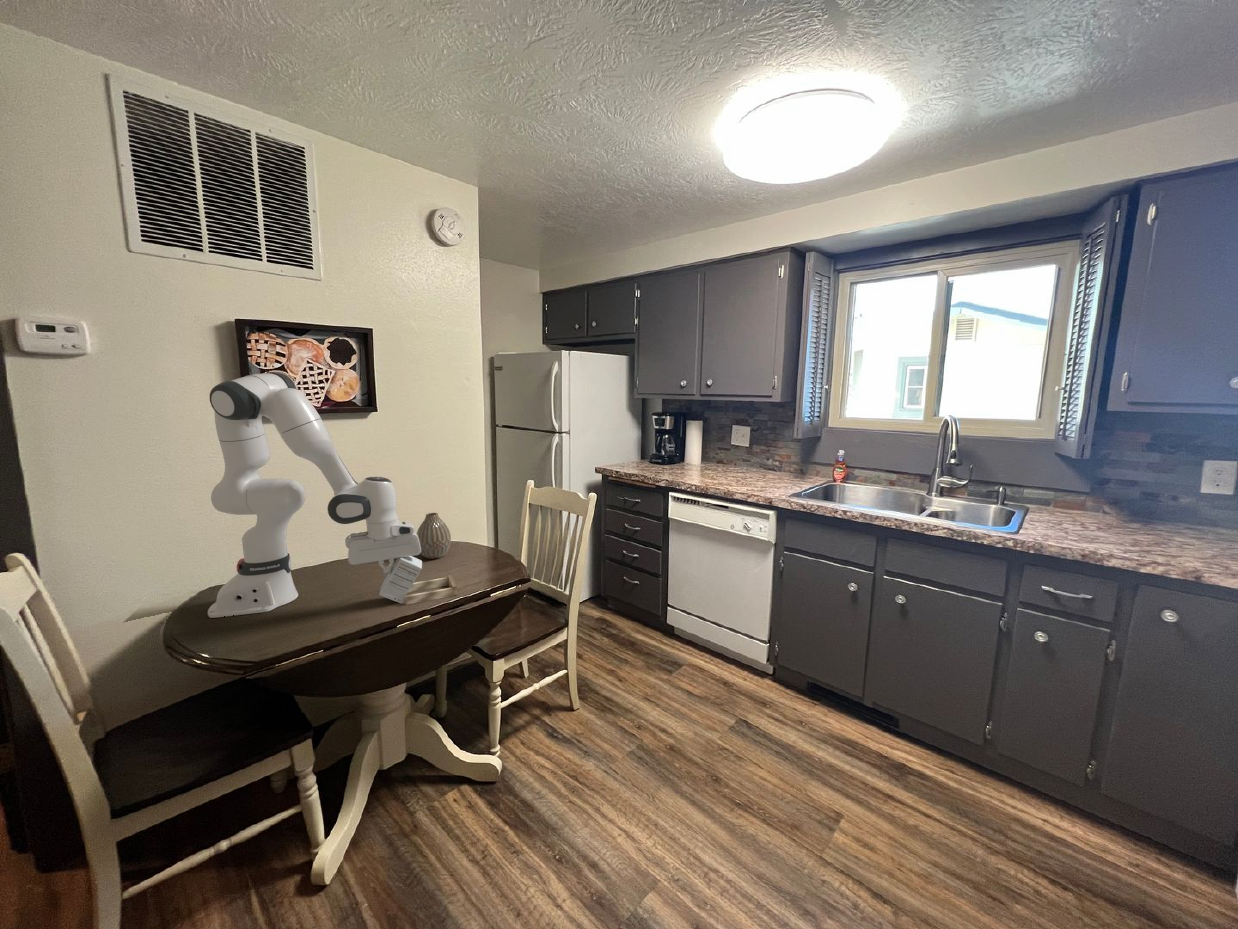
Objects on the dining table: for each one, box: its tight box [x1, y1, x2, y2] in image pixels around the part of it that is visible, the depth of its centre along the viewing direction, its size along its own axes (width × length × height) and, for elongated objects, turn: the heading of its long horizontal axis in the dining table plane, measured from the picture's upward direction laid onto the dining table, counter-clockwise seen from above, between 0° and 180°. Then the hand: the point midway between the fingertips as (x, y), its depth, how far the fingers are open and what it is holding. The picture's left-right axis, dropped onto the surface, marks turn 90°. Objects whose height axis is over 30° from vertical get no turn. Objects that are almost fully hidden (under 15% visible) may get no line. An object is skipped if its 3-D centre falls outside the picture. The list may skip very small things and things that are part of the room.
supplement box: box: [378, 556, 423, 604], centre depth 153 cm, size 7×7×13 cm
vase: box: [416, 512, 452, 560], centre depth 194 cm, size 13×13×18 cm
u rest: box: [404, 574, 458, 606], centre depth 158 cm, size 15×11×3 cm
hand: (387, 572), depth 151 cm, fingers closed
